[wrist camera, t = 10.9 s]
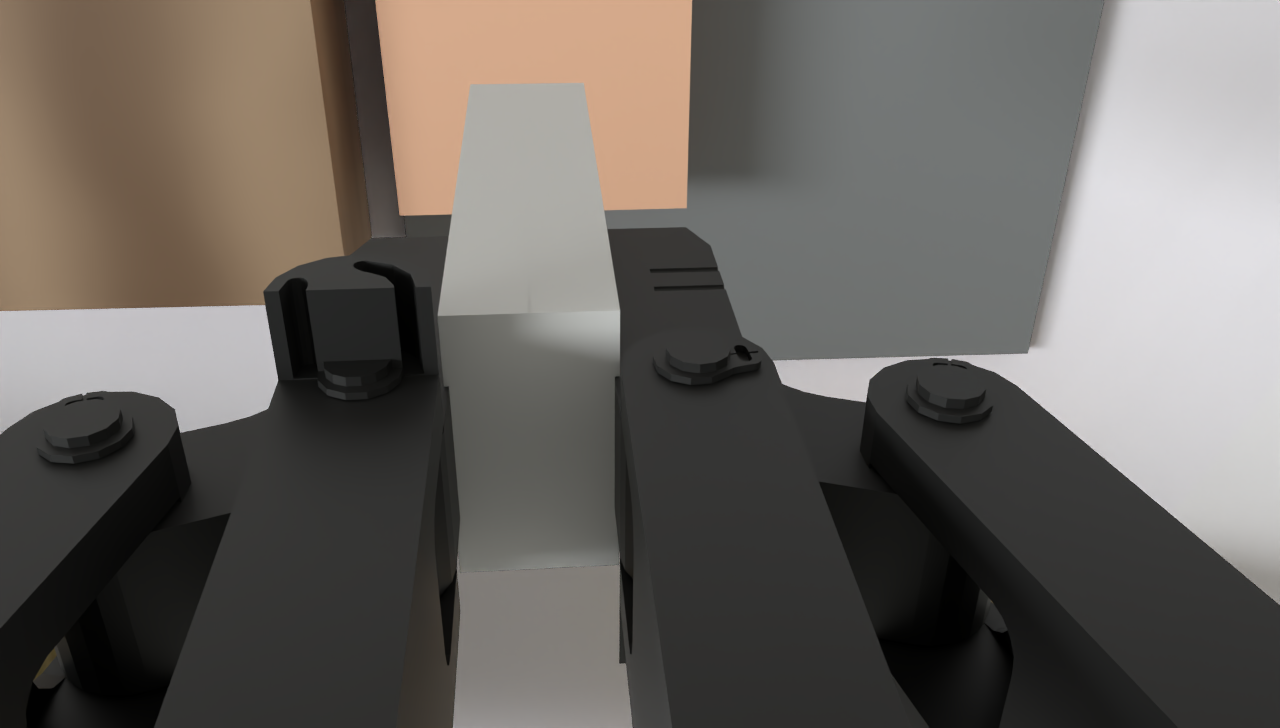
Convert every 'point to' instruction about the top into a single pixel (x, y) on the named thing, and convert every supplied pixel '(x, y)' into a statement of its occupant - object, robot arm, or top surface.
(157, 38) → the tan panel
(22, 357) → the top surface
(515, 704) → the top surface
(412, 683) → the robot arm
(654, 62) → the block
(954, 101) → the mat
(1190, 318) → the top surface
